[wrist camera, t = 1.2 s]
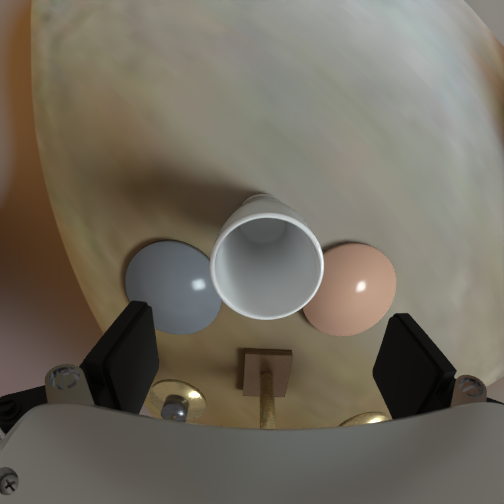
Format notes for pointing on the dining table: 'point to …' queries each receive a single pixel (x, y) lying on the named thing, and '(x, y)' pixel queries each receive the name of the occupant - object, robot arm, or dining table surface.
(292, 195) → the dining table surface
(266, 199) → the drinking glass
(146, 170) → the dining table surface
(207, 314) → the dish slate
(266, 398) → the balance
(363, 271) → the pink dome
